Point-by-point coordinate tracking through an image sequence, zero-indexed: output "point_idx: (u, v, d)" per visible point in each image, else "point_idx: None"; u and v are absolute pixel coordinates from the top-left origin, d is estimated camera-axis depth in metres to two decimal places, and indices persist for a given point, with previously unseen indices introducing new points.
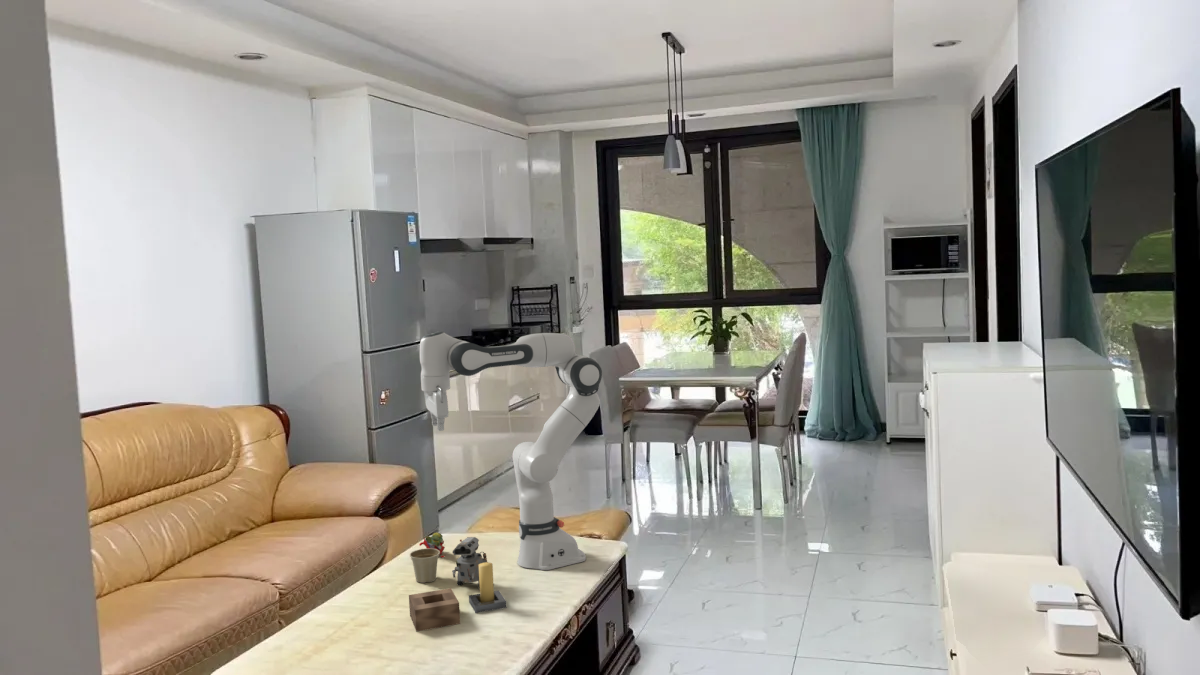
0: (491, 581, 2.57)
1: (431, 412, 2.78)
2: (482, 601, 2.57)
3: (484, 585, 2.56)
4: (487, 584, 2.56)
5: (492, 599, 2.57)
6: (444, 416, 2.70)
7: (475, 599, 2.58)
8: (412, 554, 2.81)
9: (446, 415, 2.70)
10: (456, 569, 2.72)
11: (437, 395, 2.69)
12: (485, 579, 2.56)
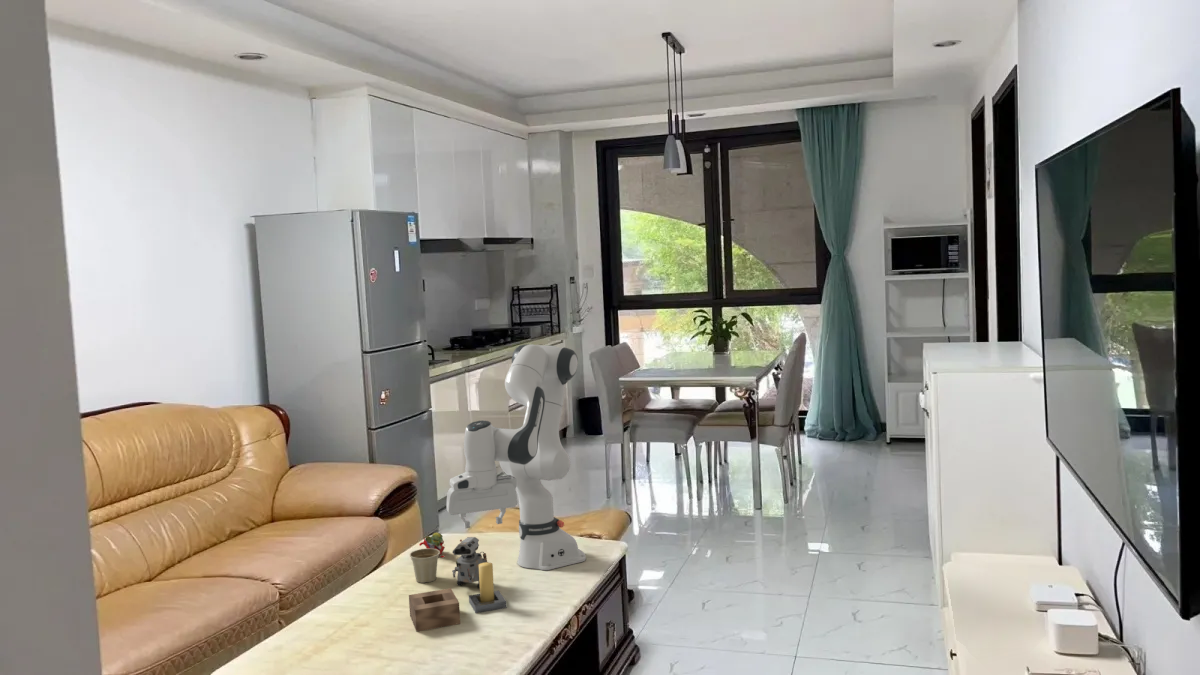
0: (491, 581, 2.57)
1: (482, 510, 2.54)
2: (482, 601, 2.57)
3: (484, 585, 2.56)
4: (487, 584, 2.56)
5: (492, 599, 2.57)
6: None
7: (475, 599, 2.58)
8: (412, 554, 2.81)
9: None
10: (456, 569, 2.72)
11: (512, 483, 2.57)
12: (485, 579, 2.56)
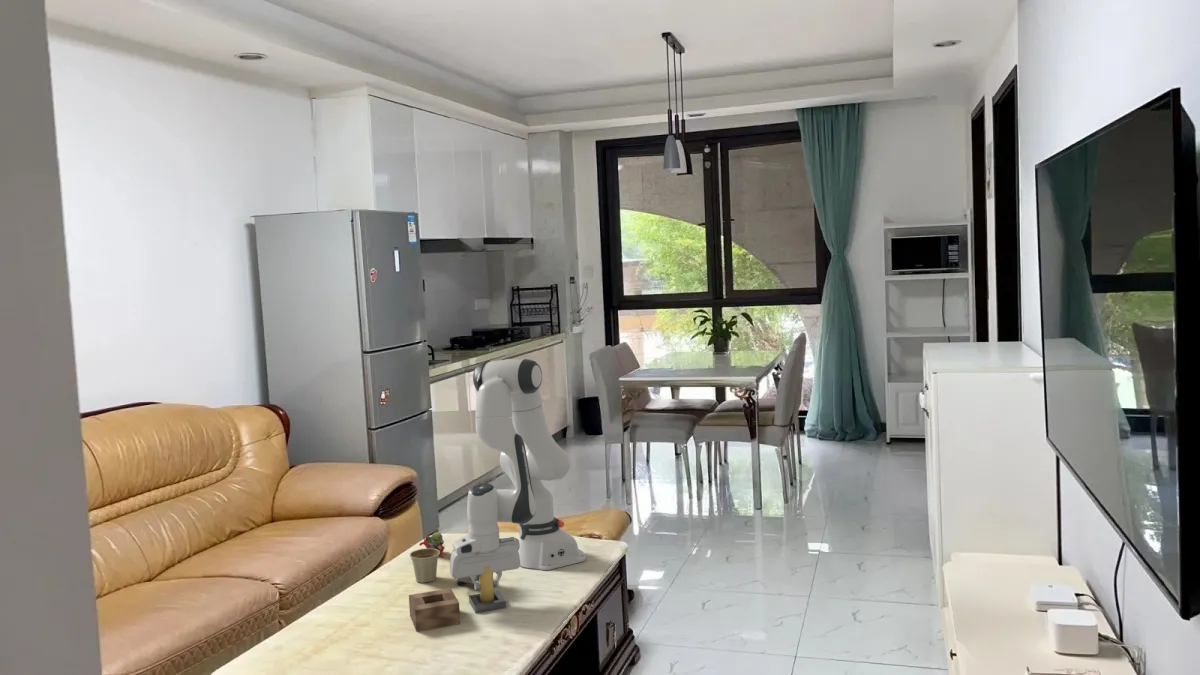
0: (491, 581, 2.57)
1: None
2: (482, 601, 2.57)
3: (484, 585, 2.56)
4: (487, 584, 2.56)
5: (492, 599, 2.57)
6: None
7: (475, 599, 2.58)
8: (412, 554, 2.81)
9: None
10: None
11: (515, 545, 2.59)
12: (485, 579, 2.56)
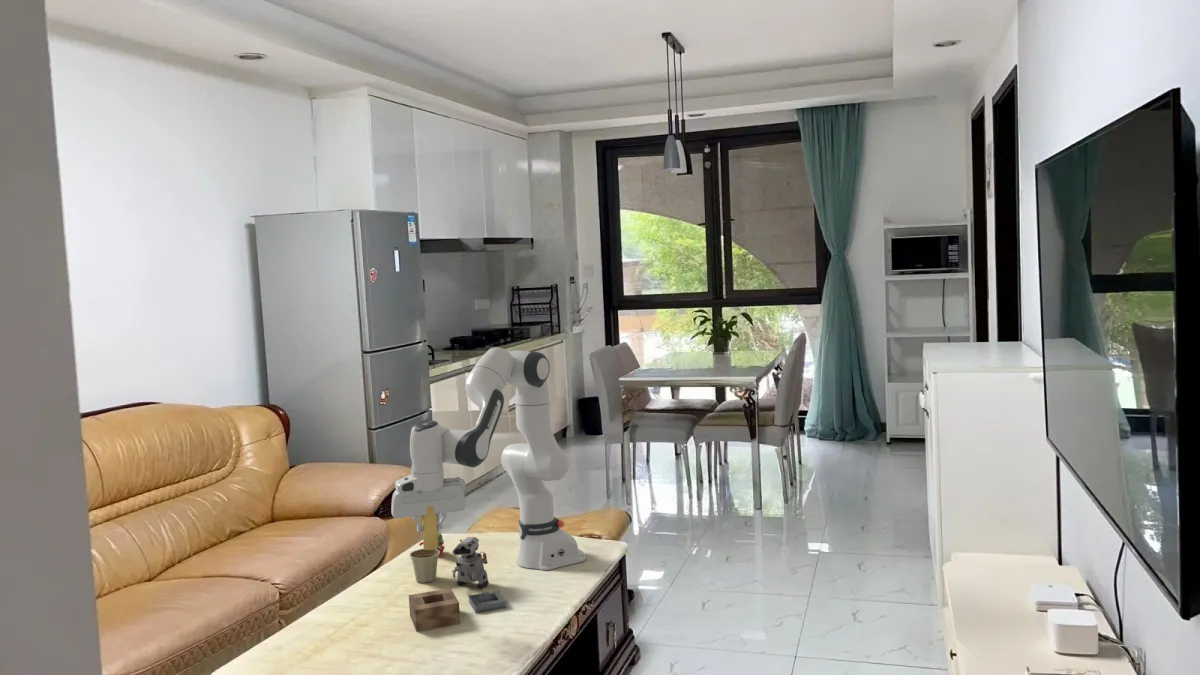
0: (434, 522, 2.46)
1: None
2: (425, 543, 2.45)
3: (427, 526, 2.45)
4: (430, 525, 2.45)
5: (435, 541, 2.46)
6: None
7: (475, 599, 2.58)
8: (412, 554, 2.81)
9: None
10: (456, 569, 2.72)
11: (460, 486, 2.48)
12: (427, 520, 2.45)
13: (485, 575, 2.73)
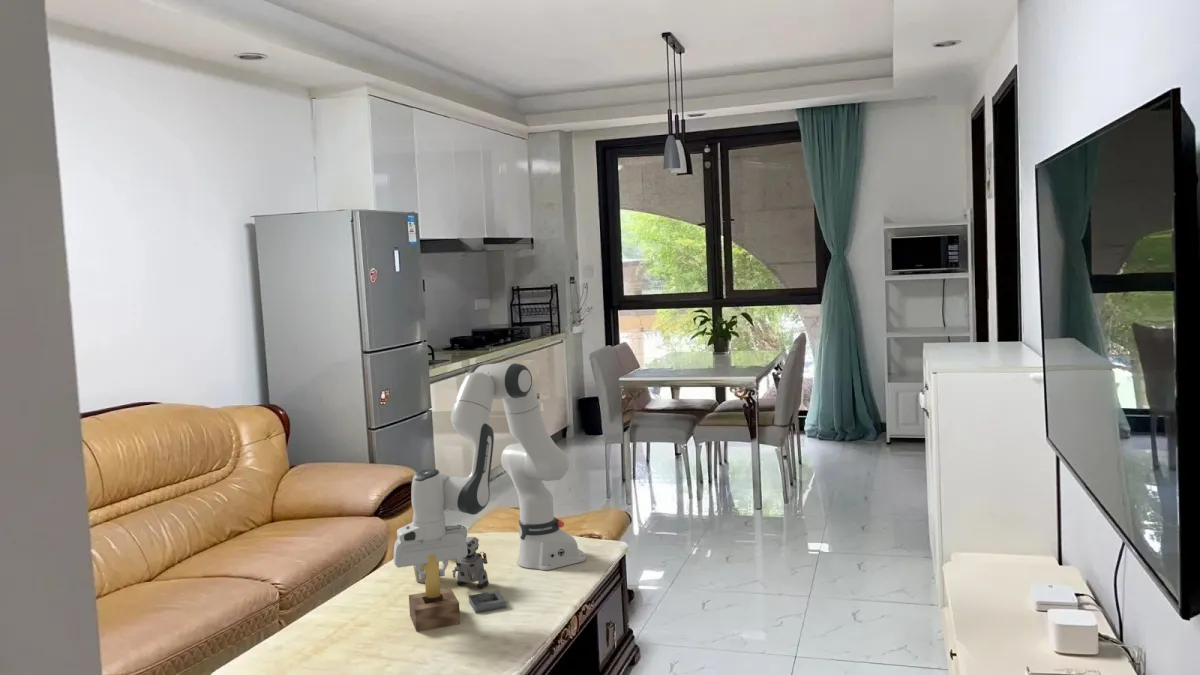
0: (436, 570, 2.47)
1: None
2: (427, 591, 2.47)
3: (429, 574, 2.46)
4: (432, 573, 2.46)
5: (438, 589, 2.47)
6: None
7: (475, 599, 2.58)
8: None
9: None
10: (456, 569, 2.72)
11: (462, 533, 2.49)
12: (430, 568, 2.46)
13: (485, 575, 2.73)
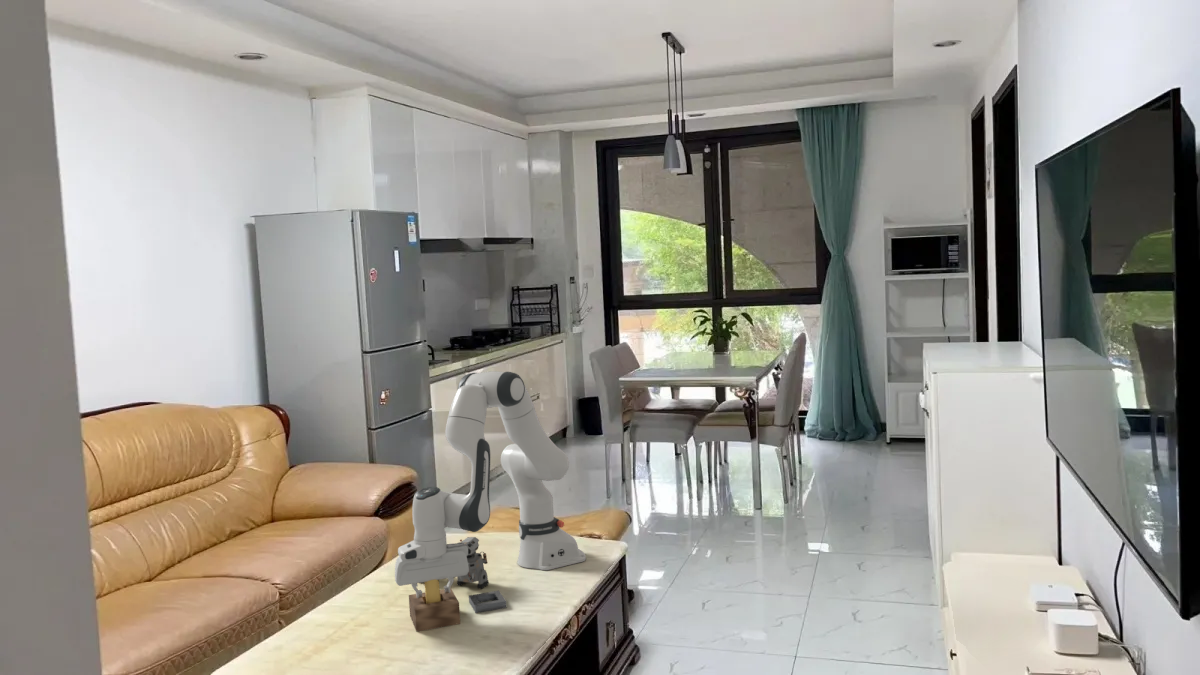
0: (437, 595, 2.47)
1: (432, 579, 2.46)
2: None
3: (430, 599, 2.47)
4: (433, 598, 2.47)
5: None
6: None
7: (475, 599, 2.58)
8: None
9: None
10: None
11: (463, 551, 2.50)
12: (430, 593, 2.46)
13: (485, 575, 2.73)
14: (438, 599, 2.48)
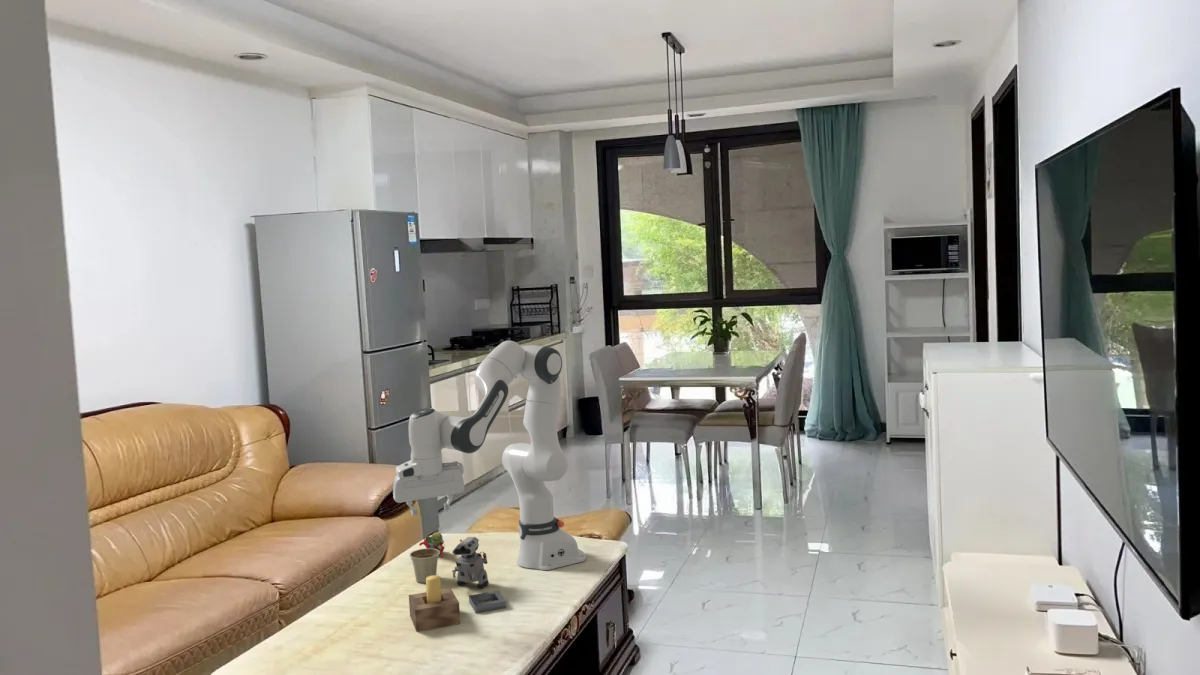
0: (439, 595, 2.47)
1: (429, 497, 2.55)
2: None
3: (431, 599, 2.47)
4: (434, 598, 2.47)
5: None
6: None
7: (475, 599, 2.58)
8: (412, 554, 2.81)
9: None
10: (456, 569, 2.72)
11: (458, 469, 2.58)
12: (432, 593, 2.47)
13: (485, 575, 2.73)
14: (439, 599, 2.48)
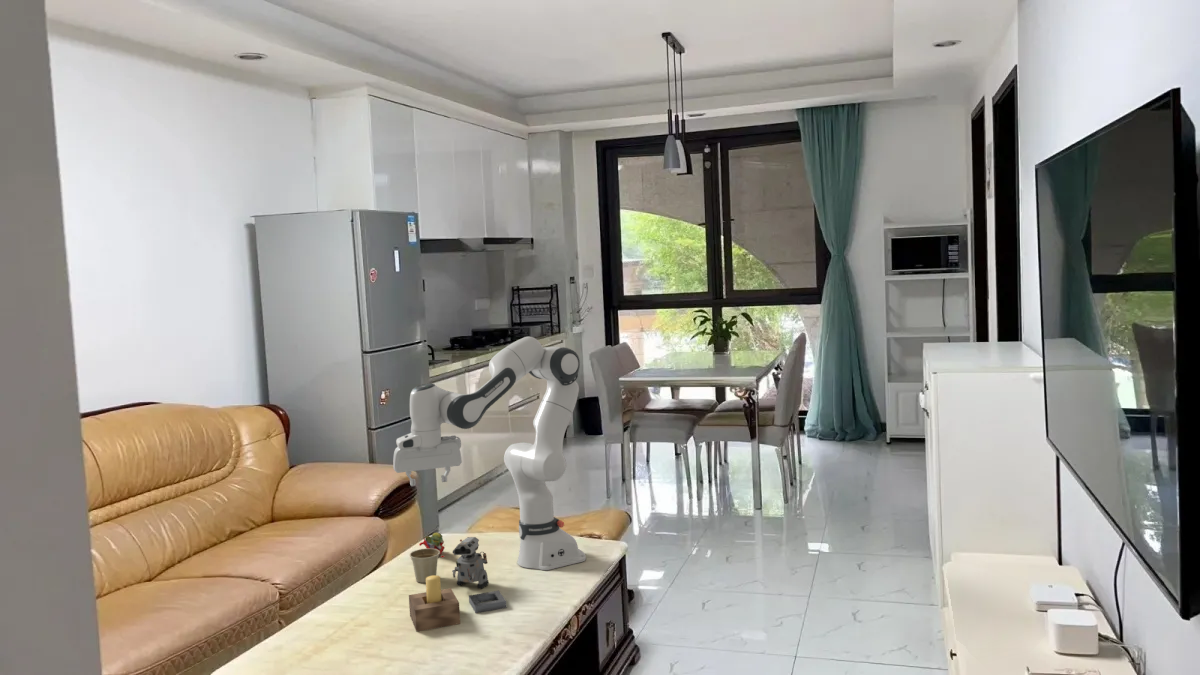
0: (439, 595, 2.47)
1: (427, 468, 2.67)
2: None
3: (431, 599, 2.47)
4: (434, 598, 2.47)
5: None
6: None
7: (475, 599, 2.58)
8: (412, 554, 2.81)
9: None
10: (456, 569, 2.72)
11: (456, 443, 2.70)
12: (432, 593, 2.46)
13: (485, 575, 2.73)
14: (439, 599, 2.48)
